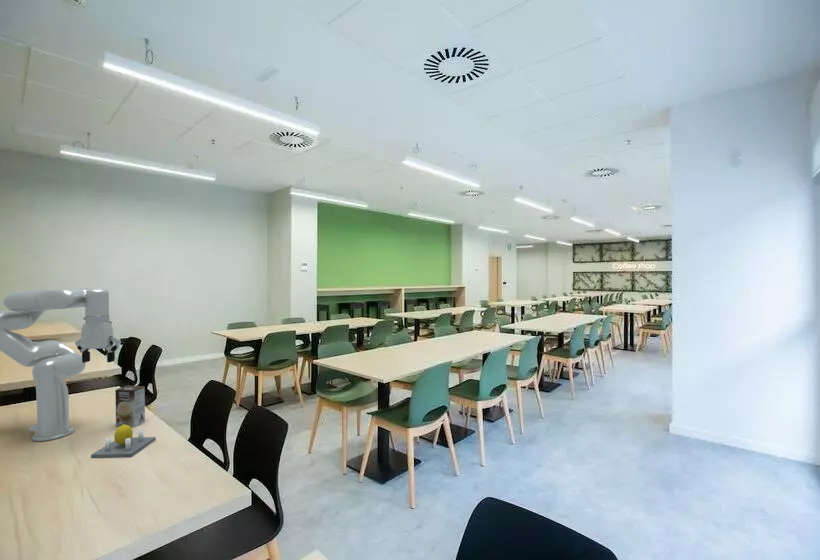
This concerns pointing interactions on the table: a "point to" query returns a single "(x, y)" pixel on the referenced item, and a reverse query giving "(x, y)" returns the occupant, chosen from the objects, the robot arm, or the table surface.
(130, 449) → the grey pegged plate
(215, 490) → the table surface
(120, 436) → the lemon
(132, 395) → the coffee box
